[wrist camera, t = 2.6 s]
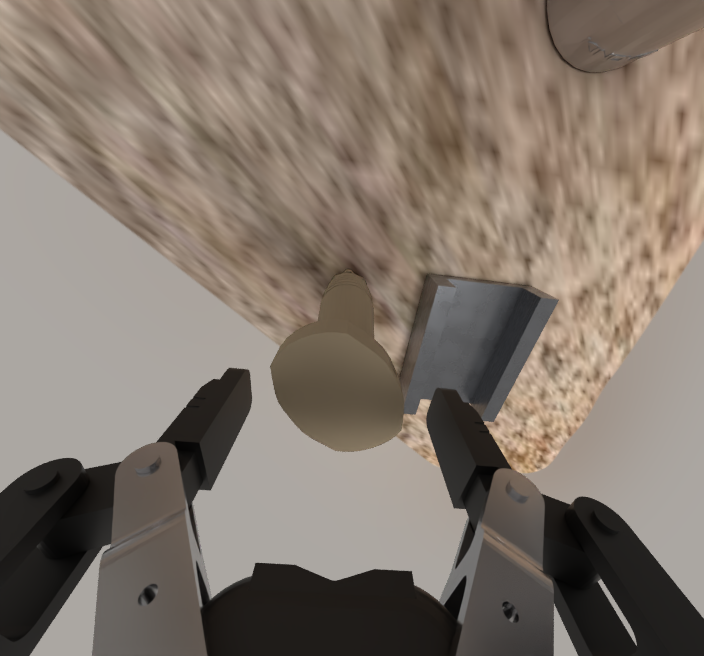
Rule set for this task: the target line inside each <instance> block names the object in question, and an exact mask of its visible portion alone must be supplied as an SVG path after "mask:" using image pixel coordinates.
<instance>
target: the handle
mask: <svg viewBox="0 0 704 656" xmlns="http://www.w3.org/2000/svg"><path fill="white" fill-rule="evenodd" d="M270 368H271V374H272V380H273V385H274V390H275V394H276V397H277V400H278V402H279V404H280V405H281V407H282V408H283V410H284V411H285V413H287V415H288V416H289V418H290V419H291V420H292V421H293V422H294V424H295V425H296V426H297V427H298V428H299V429H300V430H301V431H302V432H303V433H305V434H306V435H308V436H309V437H310V438H312V439H314V440H316V441H318V442H320V443H321V444H323V445H325V446H327V447H329V448H331V449H333V450H335V451H342V452H354V451H361V450H366V449H369V448H373V447H376V446H379V445H381V444H383V443H385V442H387V441H389V440H391V439H392V438H393V437H395V436H396V435H397V434H398V433H399V432H400V431H401V429H402V422H403V414H404V397H403V392H402V388H401V384H400V380H399V377H398V374H397V372H396V370H395V368H394V365H393V363H392V361H391V359H390V357H389V355H388V354H387V352H386V351H385V349H384V348H383V347H382V346H381V345H380V344H379V343H378V342H377V341H376V340H375V339H374V308H373V303H372V298H371V295H370V292H369V289H368V287H367V284H366V281H365V279H364V278H363V277H362V276H361V277H360V276H358V275H356V274H354V273H353V272H352V270H350V269H347V270H346V271H345V272H344V273H342V274H338V275H337V274H336V275H335V276H334V277H333V279H332V280H331V282H330V283H329V285H328V287H327V288H326V290H325V292H324V295H323V298H322V301H321V305H320V311H319V317H318V321H317V322H314V323H311V324H308V325H306V326H304V327H302V328H300V329H298V330H297V331H295V332H294V333H293V334H291V335H290V336H289V337H288V338H287V339H286V340H285V341H284V343H283V344H282V345H281V347H280V348H279V350H278V352H277V354H276V356H275V358H274V360H273V362H272V364H271V366H270Z"/></svg>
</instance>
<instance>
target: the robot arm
mask: <svg viewBox="0 0 704 656" xmlns="http://www.w3.org/2000/svg"><path fill="white" fill-rule="evenodd" d="M547 14H548V21H549V29H550V32H551V35H552V38H553V41H554V44H555V46H556V48H557V49H558V51H559V52H560V54H561V55H562V57H563V58H564V59H565V60H566V61H567V62H569V63H570V64H571V65H573V66H574V67H575V68H578V69H581V70H584V71H587V72H606V71H610V70H614V69H618V68H620V67H622V66H625V65H627V64H629V63H631V62H633V61H635V60H637V59H639V58H642V57H644V56H647V55H650V54H652V53H654V52H656V51H658V49H660V48H662V47H664V46H666V45H668V44H670V43H672V42H675V41H677V40H679V39H681V38H683V37H685V36H687V35H689V34H691V33H693V32H695V31H698V30H700V29H702V28H704V0H547ZM251 403H252V392H251V380H250V372H249V370H246V369H237V368H229V369H227V371H226V372H225V373H224V375H223V376H222V377H221V379H220V380H219V379H213V380H211V381H210V382H208V383H207V384H205V385H204V386H202V387H201V388H200V389H199V391H198V392H197V393H196V394H195V396H194V397H193V399H192V400H191V401H190V402H189V403H188V404H187V406H186V408H184V409H183V410H182V411H181V413H180V414H179V415H178V416H177V418H176V419H175V420H174V421H173V422H172V424H171V425H170V426H169V427H168V429H167V430H166V431H165V432H164V433H163V435H162V436H161V437H160V438H159V440H158V441H157V442H156V443H151V444H148V445H145V446H143V447H141V448H139V449H137V450H136V451H134V452H132V453H131V454H130V455H129V456H127V457H126V458H125V459H124V460H123V461H122V462H119V463H114V464H109V465H103V466H98V467H94V468H89V469H84V468H83V466H82V464H81V463H80V461H78V460H77V459H74V458H62V459H57V460H53V461H50V462H47V463H44V464H42V465H39V466H37V467H36V468H33V469H31V470H30V471H28V472H27V473H25V474H23V475H22V476H20V477H19V478H17V479H16V480H15V481H14V482H12V483H11V484H10V485H9V486H8V487H7V488H6V489H5V490H3V491H2V492H1V493H0V656H29V655H30V654H31V653H32V651H33V649H34V648H35V646H36V645H37V644H38V642H39V641H40V639H41V638H42V636H43V634H44V633H45V632H46V630H47V629H48V627H49V626H50V624H51V623H52V621H53V620H54V618H55V617H56V615H57V614H58V612H59V611H60V609H61V608H62V606H63V605H64V603H65V602H66V600H67V599H68V597H69V596H70V594H71V593H72V591H73V590H74V588H75V587H76V585H77V584H78V583H79V581H80V580H81V578H82V577H83V575H84V573H85V572H86V571H87V569H88V568H89V566H90V564H91V563H92V562H93V560H94V559H95V557H96V556H97V554H98V553H99V551H100V550H101V548H102V547H103V546H105V545H108V544H111V547H110V549H108V550H106V551H105V552H104V553H103V555H102V558H101V561H100V568H99V580H98V591H97V603H96V615H95V627H94V640H93V651H92V656H553V654H554V646H553V644H554V604H555V606H556V608H557V611H558V613H559V615H560V617H561V619H562V621H563V624H564V626H565V628H566V630H567V632H568V634H569V636H570V639H571V641H572V643H573V645H574V647H575V649H576V652H577V654H578V656H704V618H703V617H702V616H701V615H700V614H699V612H698V611H697V610H696V609H695V607H694V606H693V605H692V604H691V603H690V601H689V600H688V599H687V597H686V596H685V595H684V594H683V593H682V591H681V590H680V589H679V588H678V586H677V585H676V584H675V583H674V581H673V580H672V579H671V578H670V576H669V575H668V574H667V573H666V571H665V570H664V569H663V568H662V567H661V565H660V564H659V563H658V561H657V560H656V559H655V558H654V556H653V555H652V554H651V553H650V552H649V550H648V549H647V548H646V547H645V545H644V544H643V543H642V542H641V541H640V540H639V538H638V537H637V535H636V534H635V533H634V532H633V530H632V529H631V528H630V527H629V526H628V524H627V523H626V522H625V521H624V520H623V519H622V518H621V517H620V516H619V515H618V514H616V513H615V512H614V511H613V510H612V509H610V508H609V507H607V506H606V505H604V504H603V503H601V502H599V501H597V500H595V499H592V498H588V497H578V498H577V499H575V500H574V502H573V503H572V504H571V505H570V504H567V503H564V502H562V501H559V500H556V499H554V498H551V497H548V496H546V495H543V494H541V493H540V491H539V490H538V488H537V487H536V486H535V485H534V484H533V483H532V482H531V481H530V480H529V479H528V478H526V477H525V476H523V475H522V474H521V473H519V472H517V471H514V470H512V469H511V467H510V465H509V464H508V462H507V460H506V459H505V457H504V455H503V454H502V452H501V450H500V449H499V447H498V445H497V443H496V442H495V440H494V438H493V437H492V435H491V434H489V430H488V428H487V427H486V425H484V422H483V420H482V418H481V417H480V415H479V413H478V412H477V411H476V410H475V409H474V408H473V407H472V406H471V405H470V404H469V403H468V402H463V401H462V399H461V397H460V395H459V394H458V392H457V391H456V390H455V389H447V388H436V390H435V392H434V395H433V398H432V401H431V404H430V407H429V410H428V413H427V428H428V431H429V434H430V437H431V440H432V443H433V446H434V449H435V452H436V455H437V458H438V462H439V465H440V468H441V471H442V473H443V477H444V480H445V483H446V486H447V489H448V491H449V495H450V498H451V500H452V504H453V507H454V508H459V509H466V511H467V513H468V516H469V518H468V519H467V521H466V524H465V528H464V531H463V534H462V537H461V541H460V544H459V547H458V551H457V554H456V557H455V561H454V564H453V567H452V571H451V573H450V576H449V578H448V581H447V583H446V585H445V588H444V590H443V592H442V595H441V598H440V601H438V600H437V599H435V598H434V597H433V596H431V595H430V594H429V593H427V592H426V591H424V590H422V589H421V588H419V587H417V586H415V585H414V582H413V576H412V571H395V570H378V569H374V570H370V571H367V572H364V573H361V574H357V575H354V576H351V577H348V578H344V579H341V580H337V581H332V580H329V579H327V578H324V577H322V576H320V575H317V574H315V573H313V572H310V571H308V570H305V569H303V568H301V567H299V566H296V565H287V564H269V563H255V567H254V571H253V574H252V576H251V577H247V578H244V579H242V580H240V581H238V582H236V583H234V584H232V585H230V586H229V587H227V588H225V589H224V590H222V591H221V592H220V593H218V594H217V595H216V596H214V597H213V598H211V592H210V587H209V583H208V578H207V574H206V569H205V566H204V561H203V556H202V550H201V545H200V540H199V534H198V529H197V524H196V518H195V512H194V507H193V503H192V501H193V500H194V498H195V496H196V494H197V492H198V490H211V489H212V486H213V484H214V482H215V480H216V478H217V476H218V474H219V472H220V470H221V468H222V466H223V464H224V462H225V460H226V458H227V456H228V454H229V452H230V450H231V448H232V446H233V444H234V442H235V440H236V438H237V436H238V433H239V432H240V430H241V428H242V426H243V423H244V422H245V419H246V417H247V415H248V413H249V411H250V408H251ZM600 579H602V581H603V582H604V584H605V585H606V587H607V589H608V590H609V592H610V594H611V595H612V597H613V598H614V600H615V602H616V603H617V605H618V606H619V608H620V609H621V611H622V613H623V615H624V616H625V617H626V619H627V621H628V623H629V624H630V626H631V628H632V630H633V632H634V635H635V638H636V642H637V646H636V645H635V643H634V641H633V640H632V638H631V636H630V635H629V633H628V631H627V630H626V628H625V626H624V625H623V623H622V621H621V620H620V618H619V617H618V615H617V614H616V611H615V610H614V608H613V607H612V605H611V603H610V602H609V600H608V598H607V597H606V595H605V594H604V592H603V590H602V588H601V587H600V585H599V583H598V581H599V580H600Z"/></svg>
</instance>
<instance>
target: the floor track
mask: <svg viewBox="0 0 704 656" xmlns="http://www.w3.org/2000/svg"><path fill="white" fill-rule="evenodd" d="M558 301H559V300H558V299H556V298H554V297H552V296H550V295H548V294H546V293H544V292H542V291H540V290H538V289H536V288H534V287H532V286H526V285H517V284H509V283H501V282H493V281H484V280H476V279H468V278H459V277H451V276H443V275H435V274H427V275H426V279H425V283H424V287H423V291H422V295H421V298H420V302H419V306H418V310H417V314H416V318H415V321H414V325H413V329H412V333H411V337H410V341H409V344H408V348H407V352H406V356H405V360H404V364H403V367H402V371H401V375H400V379H399V380H400V384H401V388H402V392H403V397H404V414H416V411H417V408H418V405H419V402H420V399H429V400H432V398H433V395H434V392H435V390H436V388H447V389H455V390H456V391H457V392H458V394H459V395H460V397H461V399H462V401H463V402H468V403H470V404H471V406H472V407H473V408H474V409H475V410H476V411H477V412H478V413H479V415H480V417H481V418H482V420H483V421H489V422H494V420H495V418H496V416H497V414H498V413H499V411H500V409H501V407H502V405H503V403H504V401H505V400H506V398H507V396H508V394H509V392H510V390H511V388H512V386H513V385H514V383H515V381H516V379H517V377H518V375H519V373H520V372H521V370H522V368H523V366H524V364H525V362H526V360H527V358H528V357H529V355H530V353H531V351H532V349H533V347H534V345H535V344H536V342H537V340H538V338H539V336H540V334H541V332H542V330H543V329H544V327H545V325H546V323H547V321H548V319H549V317H550V316H551V314H552V312H553V310H554V308H555V306H556V304H557V302H558Z"/></svg>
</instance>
